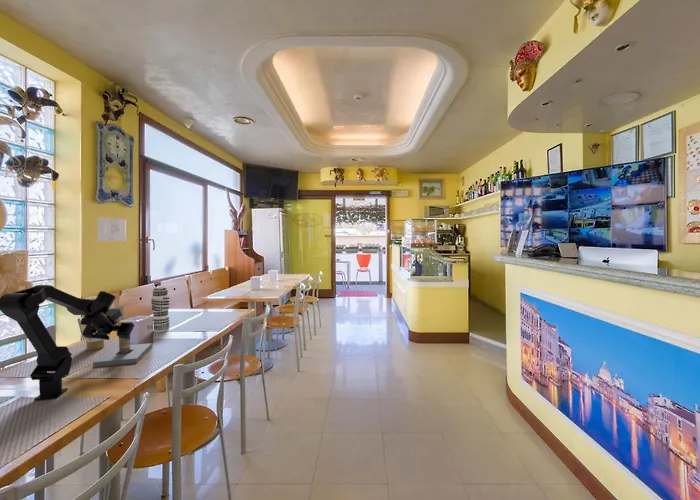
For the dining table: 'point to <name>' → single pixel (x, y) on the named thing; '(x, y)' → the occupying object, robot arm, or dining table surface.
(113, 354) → the grey peg hole board
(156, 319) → the decorative candle
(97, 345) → the grey patterned cylinder
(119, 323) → the beech peg
